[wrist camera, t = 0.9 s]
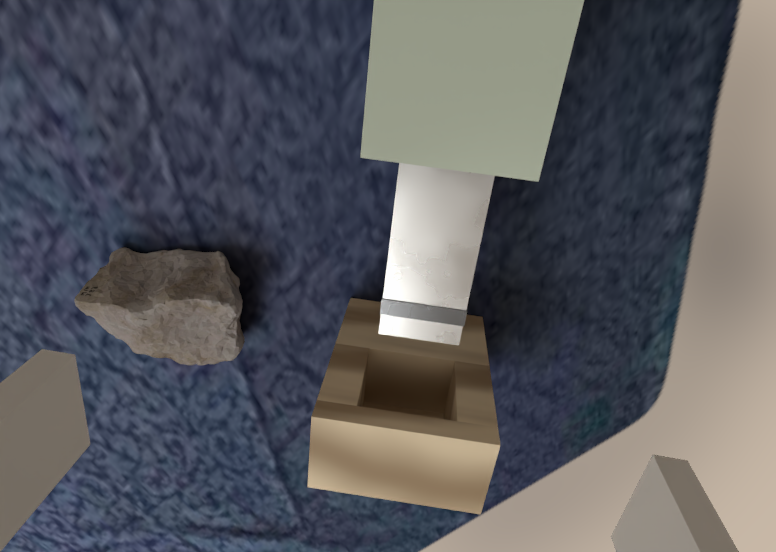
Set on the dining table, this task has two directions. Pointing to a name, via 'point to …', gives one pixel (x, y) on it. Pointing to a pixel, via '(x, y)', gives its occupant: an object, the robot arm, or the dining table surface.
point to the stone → (168, 304)
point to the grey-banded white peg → (433, 252)
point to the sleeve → (467, 82)
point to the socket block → (405, 416)
